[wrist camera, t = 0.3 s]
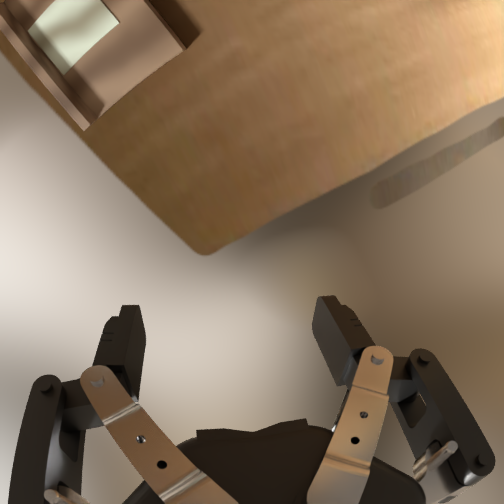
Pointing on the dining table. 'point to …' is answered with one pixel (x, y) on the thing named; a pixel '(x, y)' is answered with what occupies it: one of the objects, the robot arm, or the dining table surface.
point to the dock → (89, 48)
